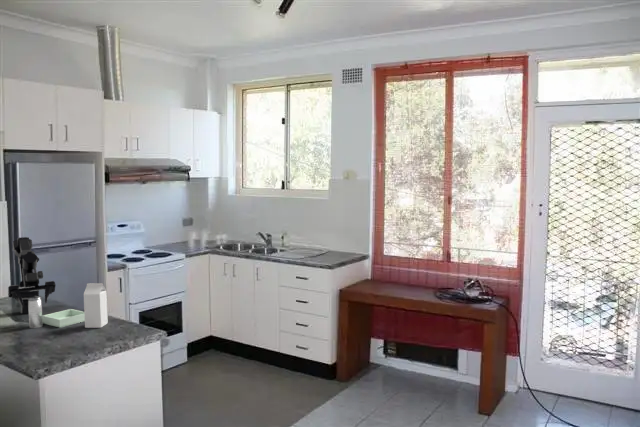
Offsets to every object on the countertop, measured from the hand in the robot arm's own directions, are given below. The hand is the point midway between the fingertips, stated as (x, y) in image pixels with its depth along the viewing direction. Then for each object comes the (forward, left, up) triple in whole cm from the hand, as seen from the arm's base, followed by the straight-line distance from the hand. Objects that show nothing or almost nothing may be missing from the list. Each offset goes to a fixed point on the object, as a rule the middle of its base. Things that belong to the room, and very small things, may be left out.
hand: (34, 304), depth 239 cm
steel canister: (+2, 0, -10) cm, 10 cm away
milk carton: (+14, +24, -10) cm, 30 cm away
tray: (0, +12, -9) cm, 15 cm away
